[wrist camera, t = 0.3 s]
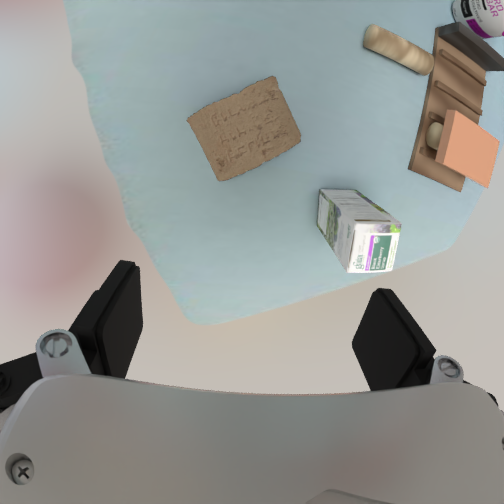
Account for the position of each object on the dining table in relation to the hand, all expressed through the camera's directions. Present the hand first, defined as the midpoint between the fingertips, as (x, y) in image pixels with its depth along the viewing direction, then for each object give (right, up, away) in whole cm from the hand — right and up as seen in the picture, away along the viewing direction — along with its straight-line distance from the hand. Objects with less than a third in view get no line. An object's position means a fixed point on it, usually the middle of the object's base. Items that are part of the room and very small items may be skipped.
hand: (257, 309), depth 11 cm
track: (+32, +25, +23) cm, 47 cm away
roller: (+20, +31, +20) cm, 42 cm away
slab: (+31, +17, +21) cm, 41 cm away
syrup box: (+12, +9, +30) cm, 34 cm away
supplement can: (+37, +43, +15) cm, 59 cm away
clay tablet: (-1, +19, +26) cm, 32 cm away
